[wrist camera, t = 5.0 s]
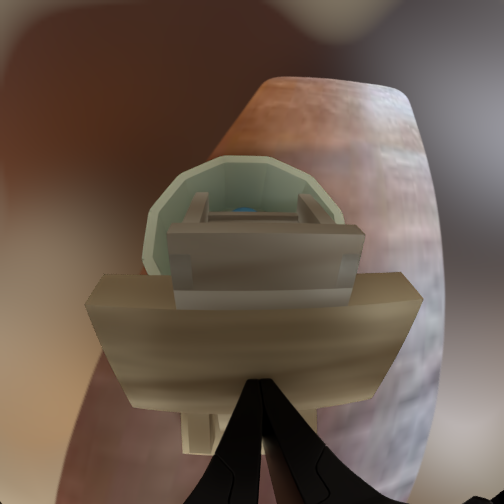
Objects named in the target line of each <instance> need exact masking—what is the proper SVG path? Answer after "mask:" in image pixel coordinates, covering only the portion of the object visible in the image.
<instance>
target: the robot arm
mask: <svg viewBox="0 0 504 504" xmlns="http://www.w3.org/2000/svg"><path fill="white" fill-rule="evenodd" d="M262 443H263V447H264V451H265V456H266V460H267V464H268V469H269V473H270V477H271V481H272V485H273V490H274V494H275V498H276V502H277V504H408V503H404V502H399V501H396V500H393V499H390V498H388V497H386V496H384V495H382V494H381V493H379V492H378V491H376V490H375V489H374V488H372V487H371V486H370V485H369V484H367V483H366V482H365V481H363V480H362V479H361V478H360V477H358V476H357V475H356V474H355V473H354V472H352V471H351V470H350V469H349V468H348V467H347V466H346V465H344V464H343V463H342V462H341V461H340V460H339V459H338V458H337V457H336V455H335V454H334V453H333V452H332V451H331V450H330V449H329V448H328V446H325V445H326V444H325V443H324V442H323V441H322V440H321V439H320V437H319V436H318V435H317V434H316V433H315V431H314V430H313V429H312V428H311V427H310V426H309V424H308V423H307V422H306V421H305V419H304V418H303V417H302V416H301V415H300V413H299V412H298V411H297V410H296V408H295V407H294V406H293V405H292V404H291V402H290V401H289V400H288V399H287V397H286V396H285V395H284V393H283V392H282V391H281V390H280V388H279V387H278V386H277V385H276V383H275V382H274V381H273V379H271V378H263V379H260V380H259V379H247V380H246V382H245V385H244V387H243V389H242V392H241V394H240V396H239V399H238V401H237V403H236V406H235V408H234V410H233V413H232V415H231V417H230V420H229V422H228V424H227V426H226V429H225V431H224V433H223V435H222V438H221V440H220V442H219V444H218V446H217V448H216V451H215V454H214V455H213V457H212V459H211V461H210V463H209V465H208V467H207V469H206V471H205V473H204V475H203V476H202V478H201V479H200V481H199V482H198V484H197V485H196V487H195V488H194V490H193V491H192V493H191V494H190V495H189V497H188V498H187V499H186V501H185V502H184V503H183V504H258V496H259V481H260V465H261V448H262ZM463 504H504V490H503V491H501V492H500V493H499V494H498V495H496V496H495V497H494V498H492V499H491V500H488V499H486V498H482V497H478V496H473V497H472V498H470V499H469V500H467V501H466V502H464V503H463Z"/></svg>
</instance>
